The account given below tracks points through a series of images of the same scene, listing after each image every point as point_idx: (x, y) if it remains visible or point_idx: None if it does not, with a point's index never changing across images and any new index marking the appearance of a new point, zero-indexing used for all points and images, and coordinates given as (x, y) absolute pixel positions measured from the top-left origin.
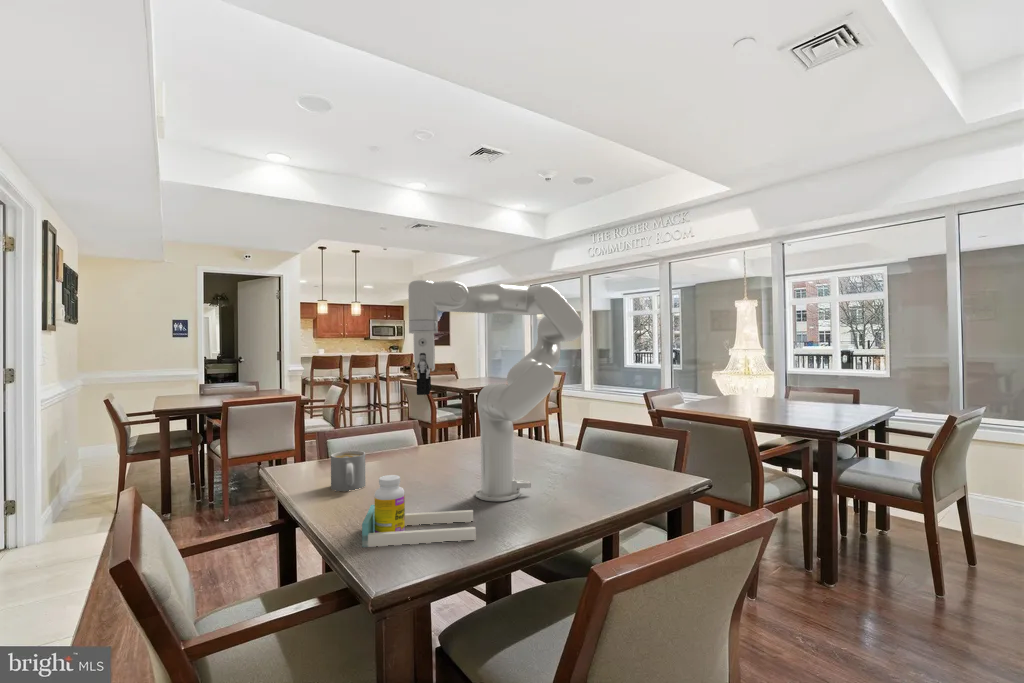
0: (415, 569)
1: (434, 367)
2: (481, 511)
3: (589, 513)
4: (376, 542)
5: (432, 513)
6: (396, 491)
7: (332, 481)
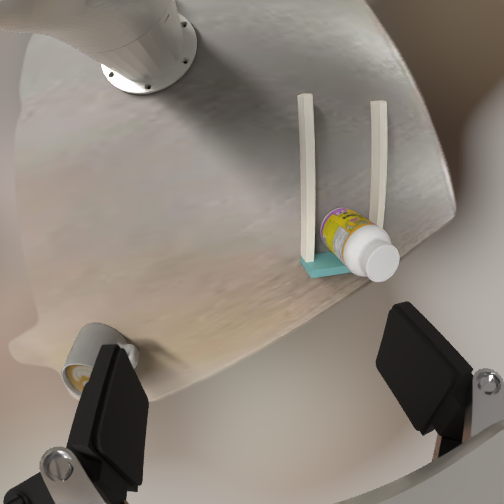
0: (431, 181)
1: (433, 501)
2: (249, 78)
3: None
4: None
5: (313, 167)
6: (388, 239)
7: None
